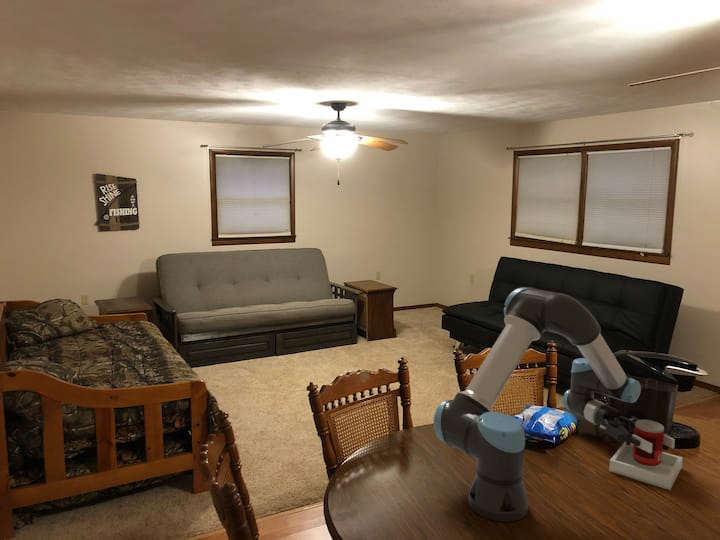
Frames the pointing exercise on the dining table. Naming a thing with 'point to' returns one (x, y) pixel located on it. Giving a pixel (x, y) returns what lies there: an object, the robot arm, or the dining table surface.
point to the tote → (646, 467)
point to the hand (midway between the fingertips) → (662, 446)
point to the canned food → (652, 434)
